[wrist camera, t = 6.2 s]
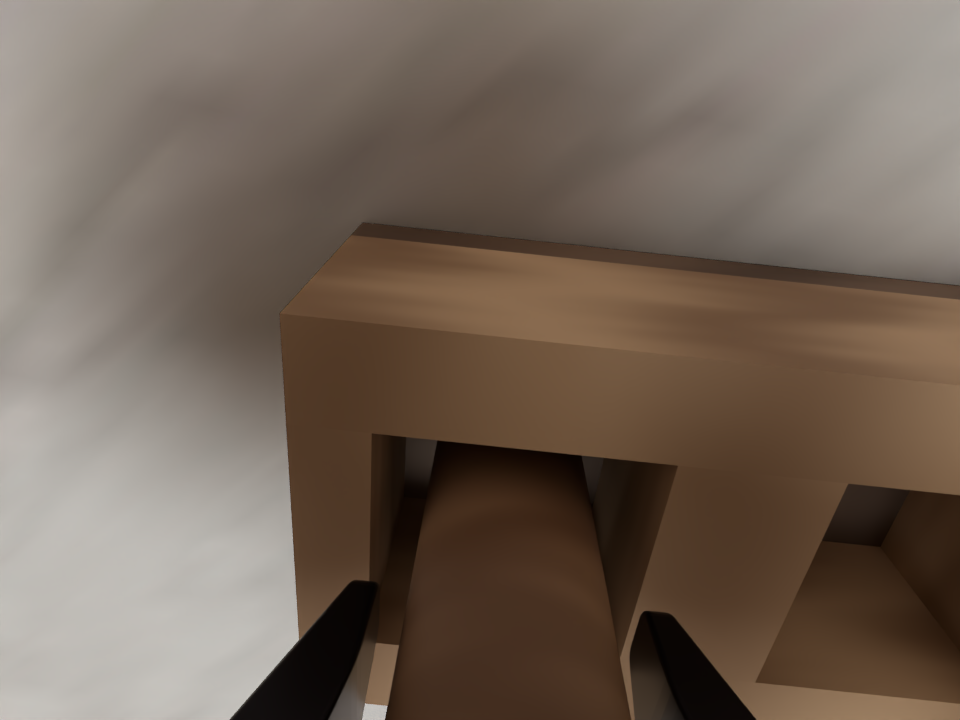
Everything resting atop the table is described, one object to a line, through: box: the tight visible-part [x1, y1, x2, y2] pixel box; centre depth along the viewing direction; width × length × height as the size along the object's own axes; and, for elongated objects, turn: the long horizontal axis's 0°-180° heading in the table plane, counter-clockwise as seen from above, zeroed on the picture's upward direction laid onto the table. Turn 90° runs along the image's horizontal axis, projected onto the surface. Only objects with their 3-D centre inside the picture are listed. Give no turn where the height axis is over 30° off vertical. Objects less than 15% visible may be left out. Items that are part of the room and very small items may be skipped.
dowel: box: [385, 440, 631, 720], centre depth 9 cm, size 3×3×9 cm
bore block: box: [280, 223, 960, 720], centre depth 12 cm, size 14×8×5 cm, turn 84°
